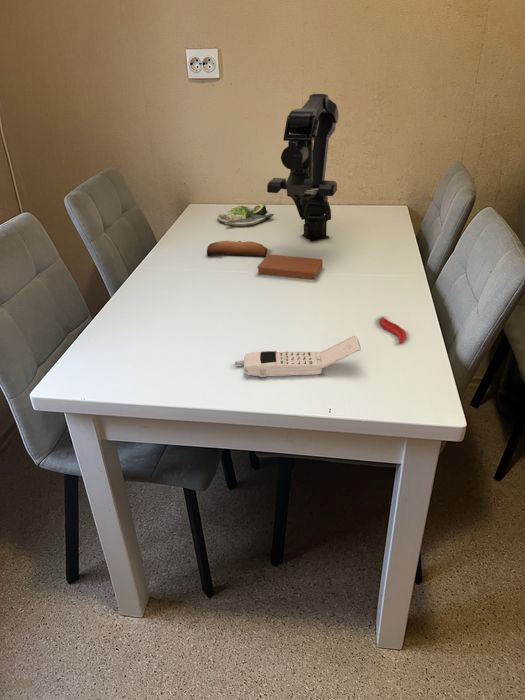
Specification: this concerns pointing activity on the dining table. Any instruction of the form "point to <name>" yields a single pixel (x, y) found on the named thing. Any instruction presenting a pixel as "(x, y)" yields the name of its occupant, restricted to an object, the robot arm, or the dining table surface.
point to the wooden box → (290, 273)
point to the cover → (290, 263)
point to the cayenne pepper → (393, 329)
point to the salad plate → (245, 215)
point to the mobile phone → (296, 360)
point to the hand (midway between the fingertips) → (301, 217)
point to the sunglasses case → (237, 248)
